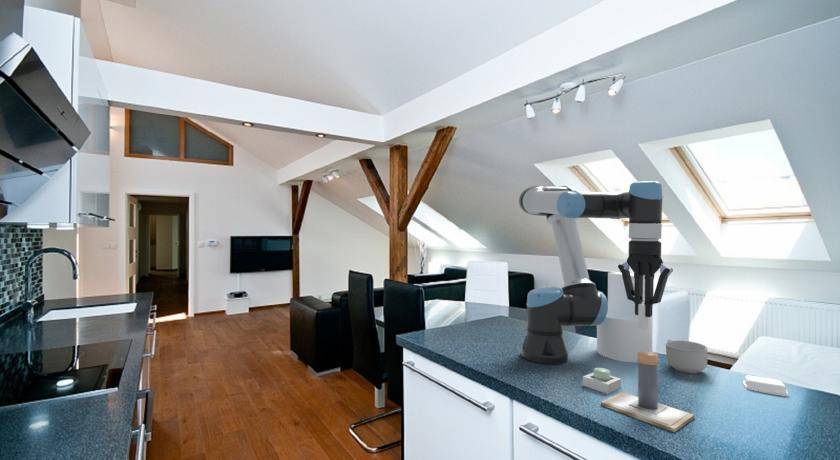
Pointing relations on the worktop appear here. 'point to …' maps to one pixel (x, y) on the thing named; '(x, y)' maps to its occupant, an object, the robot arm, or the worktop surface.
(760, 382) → the soap
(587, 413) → the worktop surface
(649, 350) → the cylinder
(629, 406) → the wooden picture frame
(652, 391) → the marker
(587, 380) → the button housing
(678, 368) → the teacup
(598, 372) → the button
